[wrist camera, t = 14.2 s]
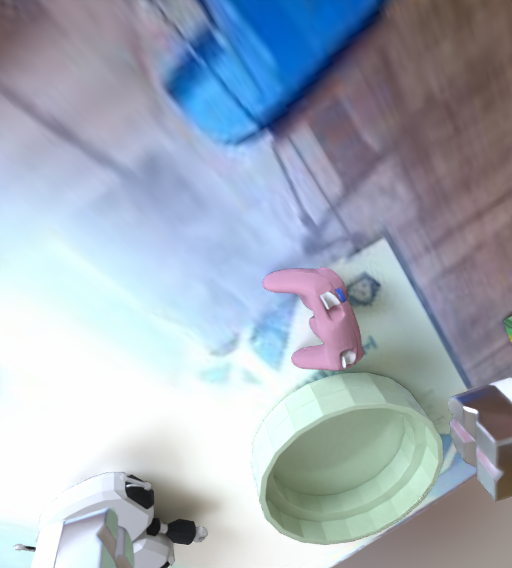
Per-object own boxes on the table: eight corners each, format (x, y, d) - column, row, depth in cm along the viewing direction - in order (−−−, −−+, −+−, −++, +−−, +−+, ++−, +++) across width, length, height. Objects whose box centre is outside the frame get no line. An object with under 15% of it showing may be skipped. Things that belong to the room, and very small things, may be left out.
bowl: (411, 346, 46) (438, 378, 41) (423, 472, 54) (446, 510, 50) (230, 403, 44) (238, 442, 40) (271, 522, 53) (282, 565, 49)
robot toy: (212, 507, 51) (118, 439, 44) (218, 547, 48) (117, 480, 40) (123, 564, 53) (16, 507, 45) (122, 607, 49) (5, 553, 41)
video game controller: (323, 337, 45) (381, 363, 40) (289, 366, 43) (344, 397, 38) (294, 249, 40) (354, 264, 35) (254, 277, 39) (311, 297, 33)
